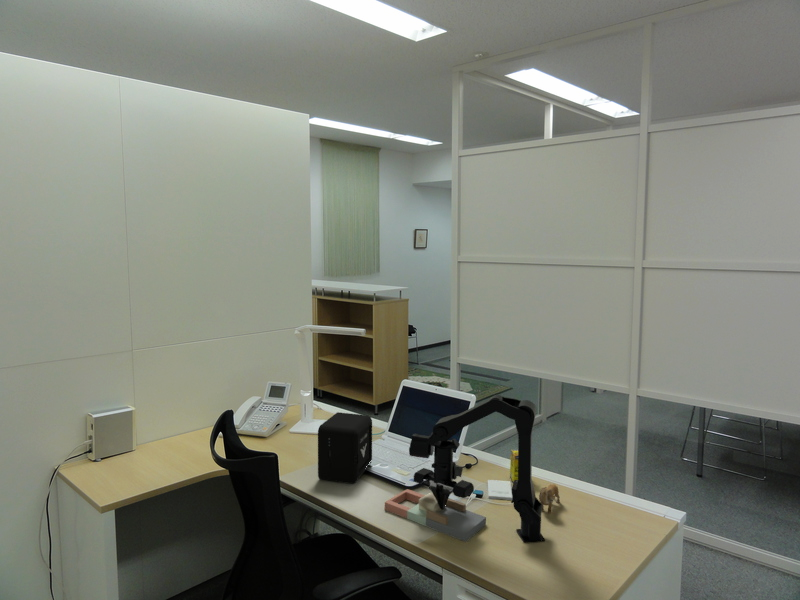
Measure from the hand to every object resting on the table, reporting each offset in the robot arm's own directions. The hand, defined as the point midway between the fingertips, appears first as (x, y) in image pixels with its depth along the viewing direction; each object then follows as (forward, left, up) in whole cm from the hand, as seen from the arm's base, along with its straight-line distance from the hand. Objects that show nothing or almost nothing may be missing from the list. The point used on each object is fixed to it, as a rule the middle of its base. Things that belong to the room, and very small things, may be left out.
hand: (442, 509), depth 163 cm
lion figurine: (+4, -36, -4) cm, 37 cm away
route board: (+2, +2, -4) cm, 5 cm away
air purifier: (+38, +28, -4) cm, 48 cm away
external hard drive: (+18, -24, -5) cm, 30 cm away
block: (+3, +3, -1) cm, 4 cm away
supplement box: (+24, -34, -4) cm, 42 cm away
